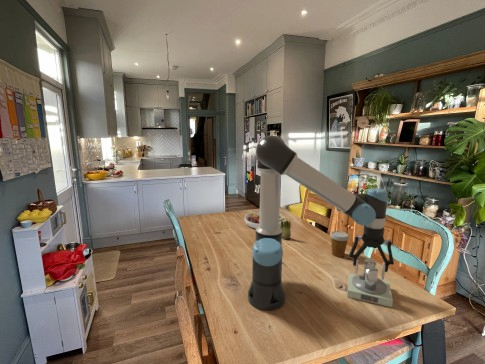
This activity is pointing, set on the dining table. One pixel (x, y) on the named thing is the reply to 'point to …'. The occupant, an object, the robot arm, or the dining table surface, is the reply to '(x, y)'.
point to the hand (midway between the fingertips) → (369, 275)
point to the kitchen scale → (369, 291)
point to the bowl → (253, 219)
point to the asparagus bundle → (285, 229)
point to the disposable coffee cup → (339, 243)
